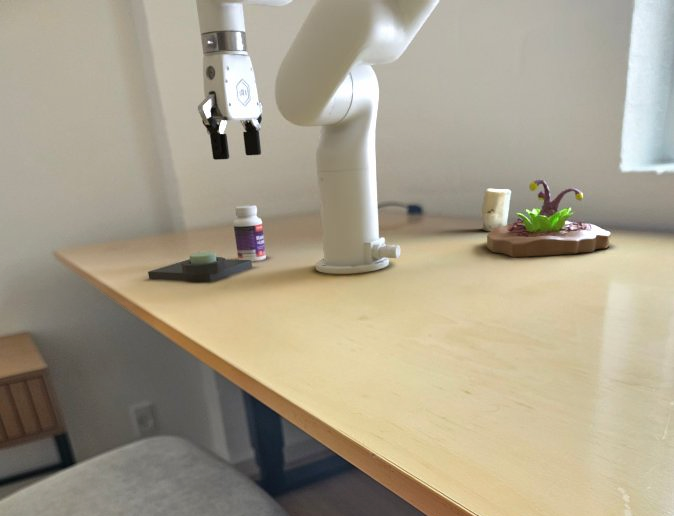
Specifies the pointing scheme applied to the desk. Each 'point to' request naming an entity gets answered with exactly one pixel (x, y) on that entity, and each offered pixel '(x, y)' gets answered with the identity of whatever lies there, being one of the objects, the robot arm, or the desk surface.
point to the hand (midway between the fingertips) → (237, 157)
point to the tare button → (203, 257)
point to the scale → (200, 270)
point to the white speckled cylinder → (495, 208)
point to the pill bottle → (249, 234)
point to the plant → (547, 231)
